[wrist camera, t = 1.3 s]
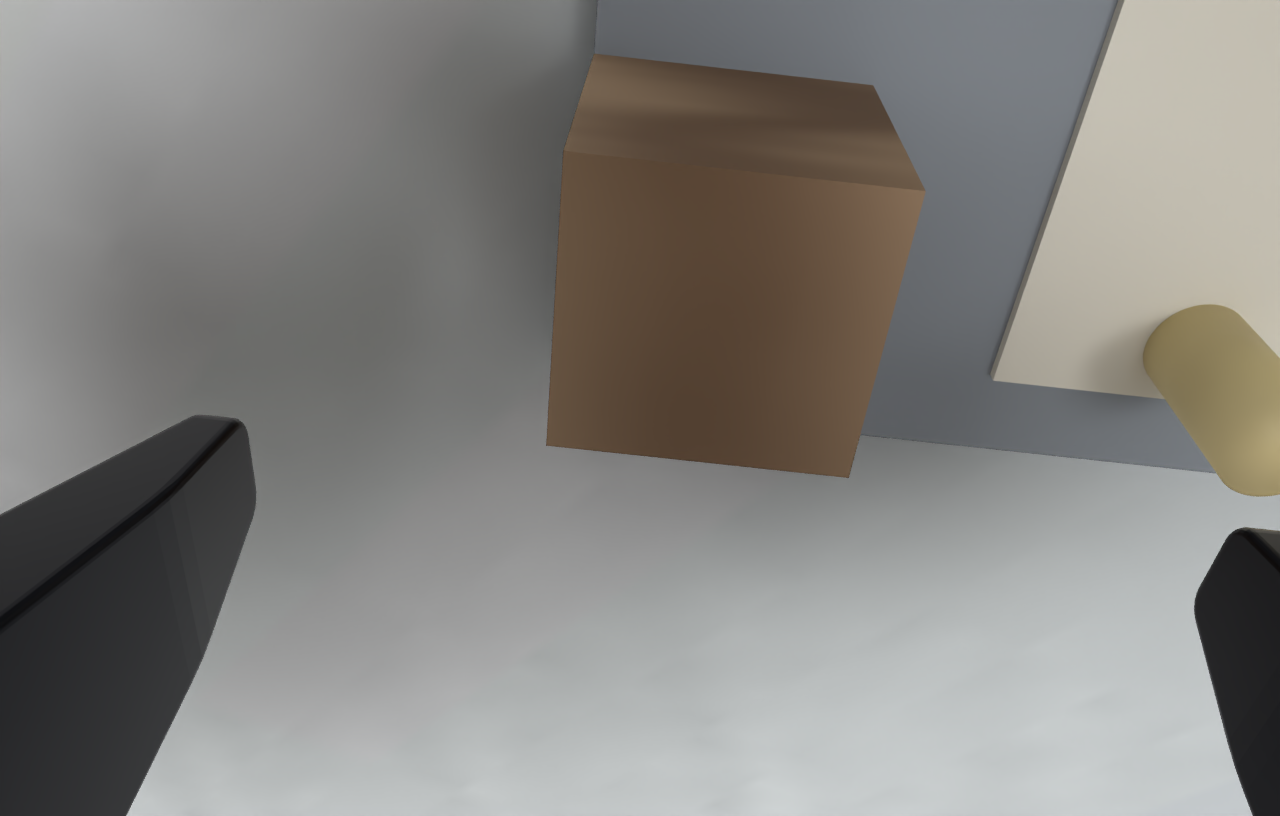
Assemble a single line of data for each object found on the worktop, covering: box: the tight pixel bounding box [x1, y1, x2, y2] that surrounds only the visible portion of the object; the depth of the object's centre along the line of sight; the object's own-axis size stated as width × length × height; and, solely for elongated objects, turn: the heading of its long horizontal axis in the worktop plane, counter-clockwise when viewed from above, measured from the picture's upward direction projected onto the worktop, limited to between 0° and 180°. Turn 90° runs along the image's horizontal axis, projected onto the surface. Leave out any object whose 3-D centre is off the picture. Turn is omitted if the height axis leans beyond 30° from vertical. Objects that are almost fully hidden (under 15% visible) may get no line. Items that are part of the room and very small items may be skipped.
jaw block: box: [546, 54, 926, 478], centre depth 14 cm, size 4×4×4 cm
